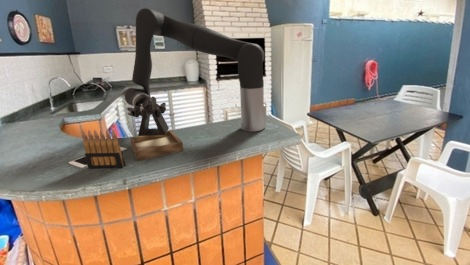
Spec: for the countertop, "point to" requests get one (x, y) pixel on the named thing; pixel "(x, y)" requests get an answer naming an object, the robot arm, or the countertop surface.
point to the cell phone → (84, 161)
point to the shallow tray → (155, 145)
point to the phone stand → (159, 121)
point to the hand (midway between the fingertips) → (152, 114)
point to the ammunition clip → (103, 151)
